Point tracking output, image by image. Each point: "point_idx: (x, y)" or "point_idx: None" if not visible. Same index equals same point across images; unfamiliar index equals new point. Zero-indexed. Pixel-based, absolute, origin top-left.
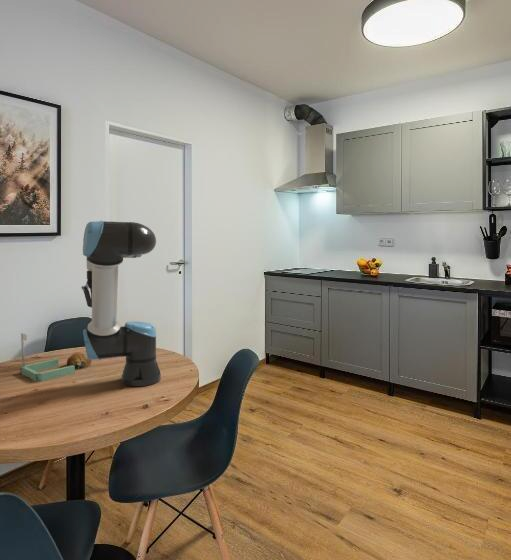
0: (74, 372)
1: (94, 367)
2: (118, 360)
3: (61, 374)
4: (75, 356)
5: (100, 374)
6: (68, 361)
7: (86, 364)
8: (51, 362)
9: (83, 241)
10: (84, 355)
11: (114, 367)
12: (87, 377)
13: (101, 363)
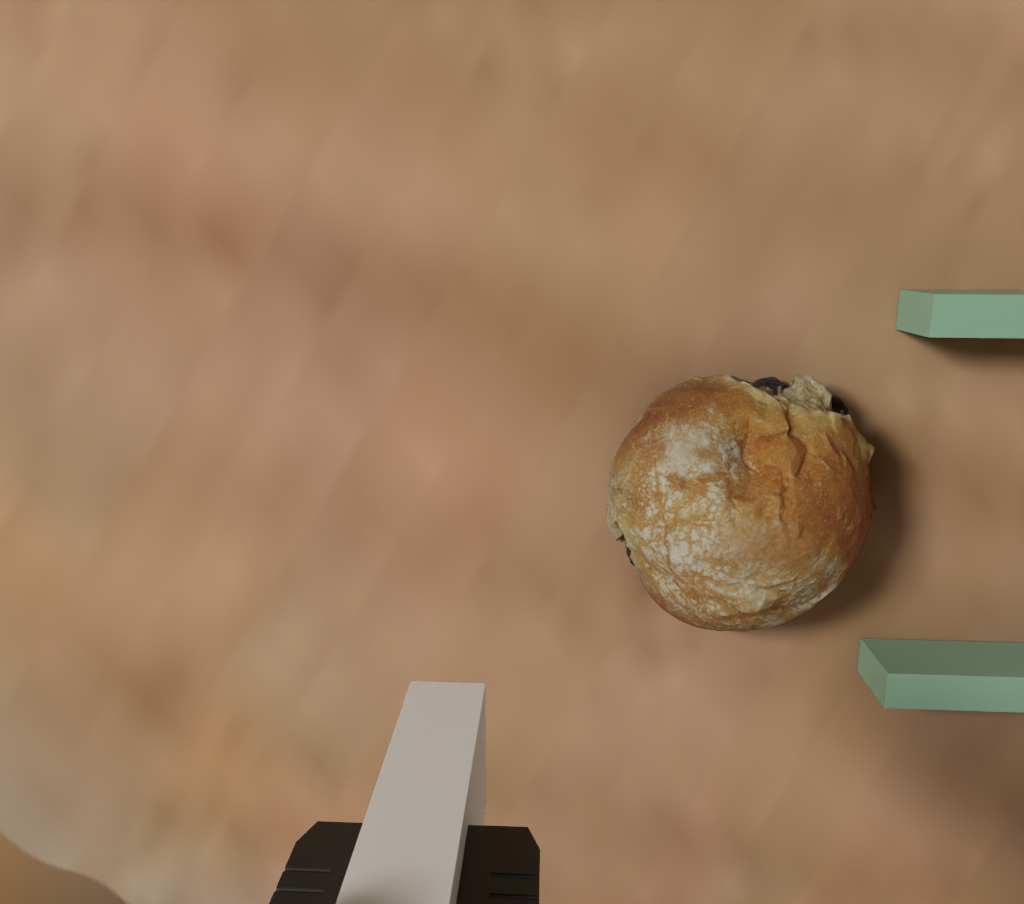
0: (907, 290)
1: (652, 316)
2: (332, 351)
3: None
4: (827, 485)
5: (756, 21)
6: (871, 512)
7: (718, 378)
8: (957, 666)
9: None
10: (721, 459)
11: (505, 142)
12: (909, 34)
13: (521, 392)
